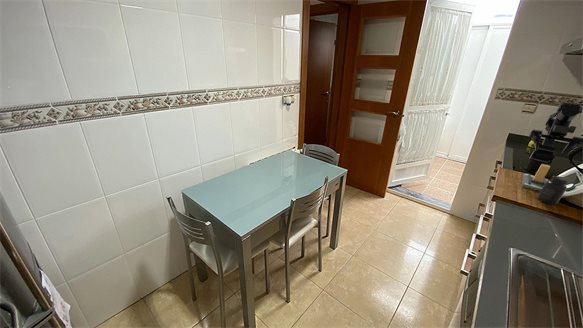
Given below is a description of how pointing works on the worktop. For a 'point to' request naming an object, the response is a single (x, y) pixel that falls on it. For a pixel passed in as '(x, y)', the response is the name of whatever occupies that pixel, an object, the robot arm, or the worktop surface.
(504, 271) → the worktop surface
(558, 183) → the supplement bottle
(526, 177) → the grey rail base
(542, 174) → the handle
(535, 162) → the robot arm
